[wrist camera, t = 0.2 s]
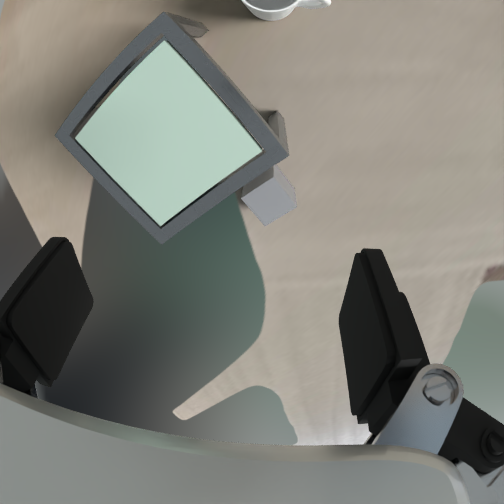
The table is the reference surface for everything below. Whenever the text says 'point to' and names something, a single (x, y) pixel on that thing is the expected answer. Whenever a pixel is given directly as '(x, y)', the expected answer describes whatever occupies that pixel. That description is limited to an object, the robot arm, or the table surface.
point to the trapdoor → (166, 135)
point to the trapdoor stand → (265, 134)
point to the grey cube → (269, 195)
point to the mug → (281, 7)
